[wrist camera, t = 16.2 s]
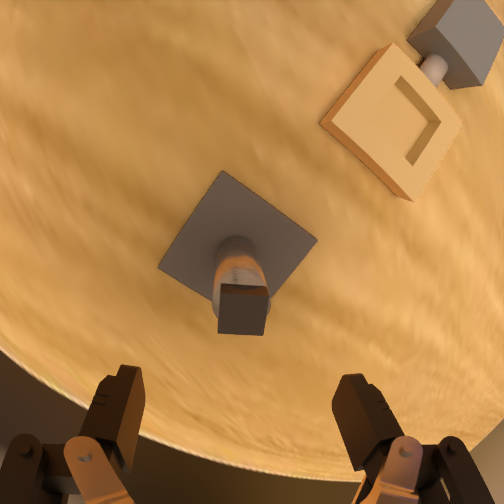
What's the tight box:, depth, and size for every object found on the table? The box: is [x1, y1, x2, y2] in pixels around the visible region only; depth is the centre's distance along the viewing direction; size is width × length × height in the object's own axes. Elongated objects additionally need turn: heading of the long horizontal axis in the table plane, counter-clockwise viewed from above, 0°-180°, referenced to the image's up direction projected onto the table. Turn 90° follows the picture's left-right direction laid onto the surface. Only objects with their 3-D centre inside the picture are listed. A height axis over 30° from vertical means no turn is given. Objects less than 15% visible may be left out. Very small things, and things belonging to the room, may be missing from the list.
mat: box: [158, 171, 318, 301], centre depth 25 cm, size 10×10×1 cm
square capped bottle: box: [212, 235, 271, 336], centre depth 20 cm, size 3×3×10 cm
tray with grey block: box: [319, 0, 504, 202], centre depth 18 cm, size 26×10×5 cm, turn 144°
